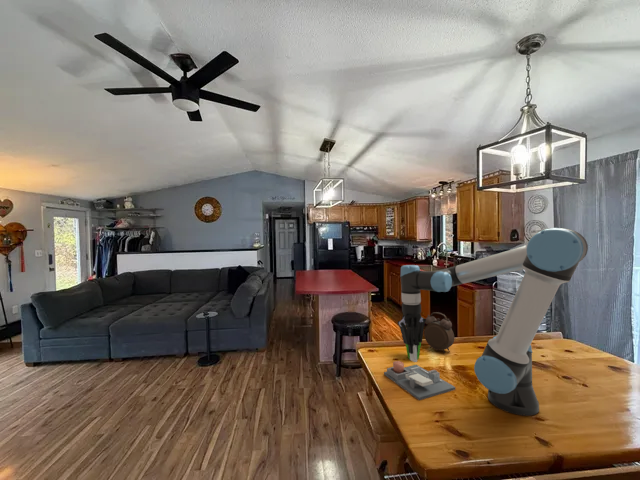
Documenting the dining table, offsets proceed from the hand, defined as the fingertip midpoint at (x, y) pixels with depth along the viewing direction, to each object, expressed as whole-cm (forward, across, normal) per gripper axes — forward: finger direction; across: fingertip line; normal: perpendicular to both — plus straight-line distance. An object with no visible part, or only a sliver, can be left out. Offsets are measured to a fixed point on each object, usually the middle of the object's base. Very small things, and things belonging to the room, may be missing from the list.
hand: (413, 360), depth 116 cm
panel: (+10, -3, -1) cm, 10 cm away
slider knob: (+9, -8, +3) cm, 12 cm away
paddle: (+6, 0, +3) cm, 7 cm away
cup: (+10, -17, -20) cm, 28 cm away
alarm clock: (+10, -36, -22) cm, 43 cm away
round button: (+7, +2, -7) cm, 10 cm away
